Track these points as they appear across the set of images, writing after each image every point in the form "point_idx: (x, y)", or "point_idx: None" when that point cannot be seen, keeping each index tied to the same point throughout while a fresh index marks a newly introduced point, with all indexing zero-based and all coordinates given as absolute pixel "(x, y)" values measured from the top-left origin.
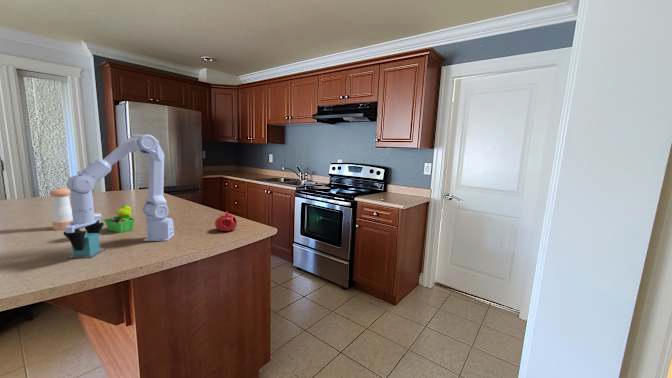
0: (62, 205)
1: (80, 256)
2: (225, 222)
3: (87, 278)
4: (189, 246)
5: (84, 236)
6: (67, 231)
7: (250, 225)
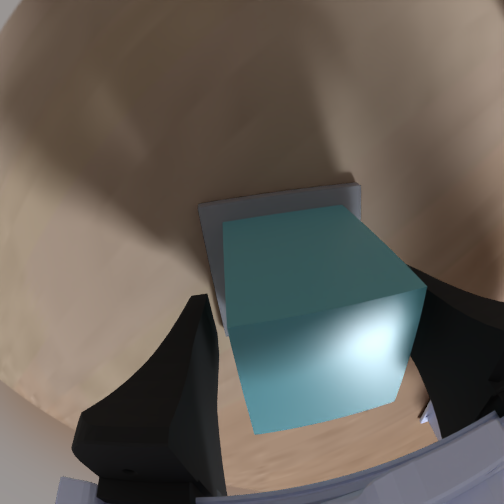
0: None
1: (218, 278)
2: None
3: (60, 419)
4: (343, 475)
5: (291, 396)
6: (70, 499)
7: None
